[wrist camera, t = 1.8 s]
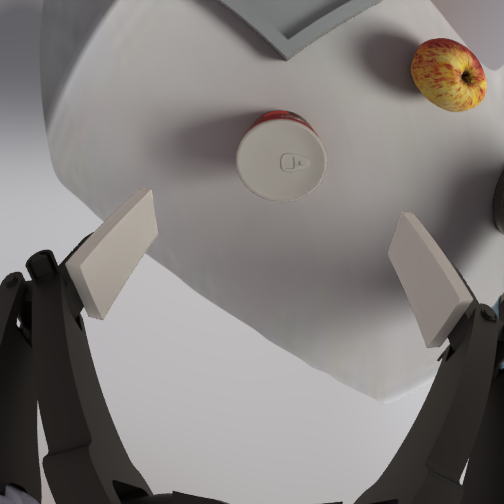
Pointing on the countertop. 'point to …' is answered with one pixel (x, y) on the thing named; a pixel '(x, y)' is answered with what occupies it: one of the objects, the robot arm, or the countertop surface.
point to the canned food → (281, 157)
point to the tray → (295, 19)
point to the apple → (448, 75)
